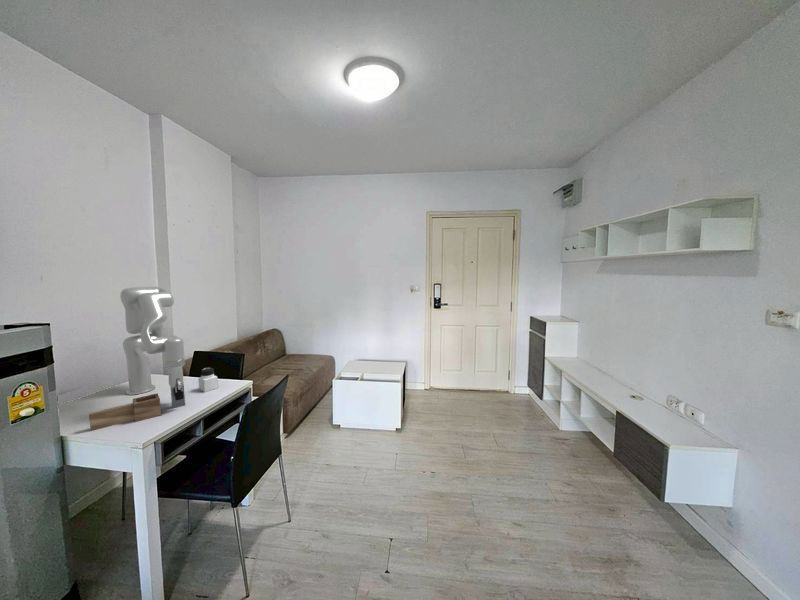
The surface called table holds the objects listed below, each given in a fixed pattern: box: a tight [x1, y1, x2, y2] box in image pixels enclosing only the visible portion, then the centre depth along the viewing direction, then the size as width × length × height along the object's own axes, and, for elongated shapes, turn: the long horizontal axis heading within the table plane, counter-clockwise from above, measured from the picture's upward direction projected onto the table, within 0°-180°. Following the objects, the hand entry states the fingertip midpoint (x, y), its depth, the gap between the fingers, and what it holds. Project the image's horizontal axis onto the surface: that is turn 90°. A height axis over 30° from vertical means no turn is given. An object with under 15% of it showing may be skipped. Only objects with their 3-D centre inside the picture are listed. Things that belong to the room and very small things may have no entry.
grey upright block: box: [169, 381, 186, 409], centre depth 148 cm, size 3×5×12 cm, turn 134°
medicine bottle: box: [198, 367, 219, 393], centre depth 170 cm, size 7×7×12 cm
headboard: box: [88, 392, 162, 432], centre depth 134 cm, size 9×23×8 cm, turn 134°
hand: (177, 396), depth 148 cm, fingers open, 9 cm apart
